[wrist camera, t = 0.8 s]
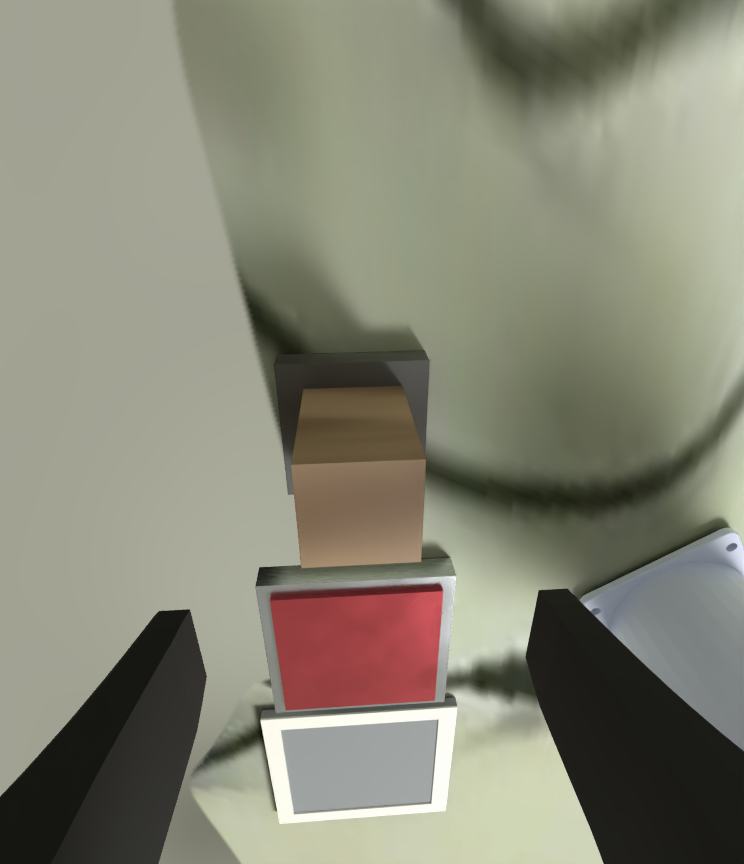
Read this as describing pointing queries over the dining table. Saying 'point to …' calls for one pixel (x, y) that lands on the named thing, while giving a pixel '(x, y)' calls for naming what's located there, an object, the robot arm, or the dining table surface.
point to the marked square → (360, 760)
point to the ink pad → (357, 633)
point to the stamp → (355, 454)
